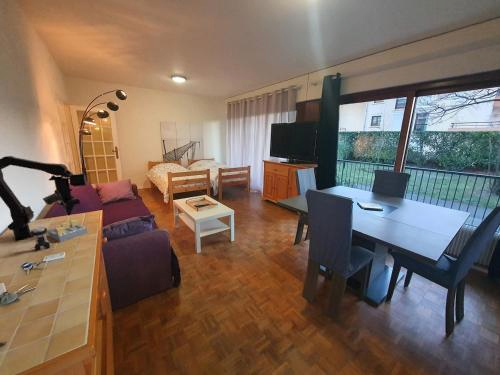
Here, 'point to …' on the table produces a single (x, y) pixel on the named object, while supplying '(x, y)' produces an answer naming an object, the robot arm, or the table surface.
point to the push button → (40, 238)
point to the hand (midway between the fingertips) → (68, 215)
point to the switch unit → (68, 233)
